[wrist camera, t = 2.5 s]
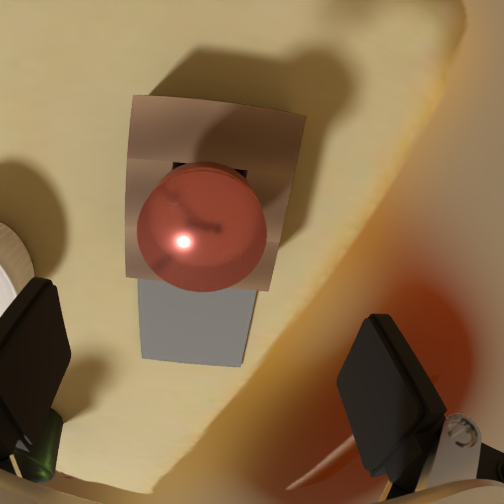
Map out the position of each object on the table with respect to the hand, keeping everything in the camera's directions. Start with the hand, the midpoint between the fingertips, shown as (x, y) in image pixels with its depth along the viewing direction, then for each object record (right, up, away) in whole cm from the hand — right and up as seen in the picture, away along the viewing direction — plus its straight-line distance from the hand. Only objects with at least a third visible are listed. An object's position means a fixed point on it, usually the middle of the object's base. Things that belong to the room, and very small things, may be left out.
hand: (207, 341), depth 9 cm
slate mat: (-4, -4, +19) cm, 20 cm away
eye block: (-2, +7, +14) cm, 16 cm away
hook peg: (-2, +7, +14) cm, 16 cm away
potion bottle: (-29, -21, +26) cm, 44 cm away
